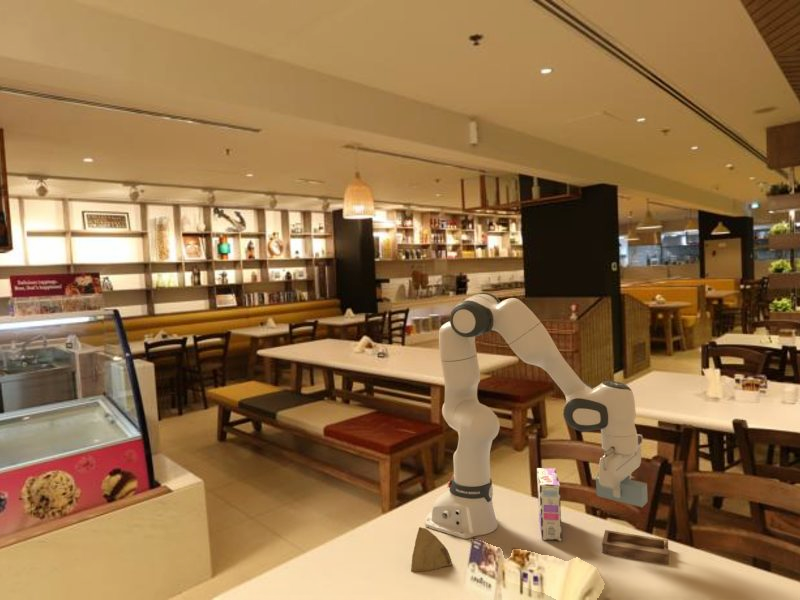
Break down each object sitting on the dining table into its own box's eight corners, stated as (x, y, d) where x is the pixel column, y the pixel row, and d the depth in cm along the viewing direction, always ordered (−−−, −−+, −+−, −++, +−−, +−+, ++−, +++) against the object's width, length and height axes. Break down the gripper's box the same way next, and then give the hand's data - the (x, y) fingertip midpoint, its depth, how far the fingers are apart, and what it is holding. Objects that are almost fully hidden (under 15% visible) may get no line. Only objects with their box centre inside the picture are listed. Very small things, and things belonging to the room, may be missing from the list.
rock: (458, 549, 143) (424, 538, 148) (454, 534, 138) (419, 523, 142) (445, 589, 136) (410, 576, 140) (440, 575, 131) (404, 562, 135)
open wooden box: (602, 552, 142) (601, 537, 142) (605, 538, 149) (604, 524, 149) (668, 564, 135) (668, 548, 134) (668, 549, 142) (667, 534, 142)
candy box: (562, 541, 149) (560, 485, 148) (541, 540, 150) (539, 484, 149) (558, 519, 162) (555, 467, 161) (538, 518, 163) (536, 466, 163)
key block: (642, 507, 135) (641, 488, 134) (596, 495, 143) (595, 478, 143) (647, 501, 137) (646, 483, 137) (602, 490, 146) (601, 473, 146)
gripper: (615, 456, 130) (618, 510, 131) (644, 434, 144) (647, 482, 145) (590, 451, 134) (593, 503, 135) (621, 430, 149) (624, 477, 150)
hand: (621, 492), depth 140 cm, fingers closed on key block, 4 cm apart
